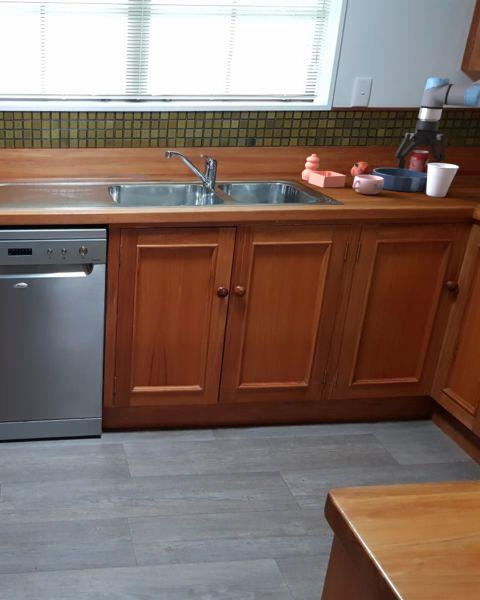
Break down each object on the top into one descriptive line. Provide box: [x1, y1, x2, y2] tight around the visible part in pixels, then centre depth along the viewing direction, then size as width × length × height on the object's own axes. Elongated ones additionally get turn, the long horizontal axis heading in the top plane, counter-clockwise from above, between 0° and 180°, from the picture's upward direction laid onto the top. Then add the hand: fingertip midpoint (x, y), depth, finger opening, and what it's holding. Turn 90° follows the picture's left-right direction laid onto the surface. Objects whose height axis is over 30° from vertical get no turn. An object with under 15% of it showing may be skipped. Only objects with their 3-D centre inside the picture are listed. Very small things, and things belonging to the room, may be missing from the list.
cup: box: [425, 162, 460, 198], centre depth 220 cm, size 10×10×11 cm
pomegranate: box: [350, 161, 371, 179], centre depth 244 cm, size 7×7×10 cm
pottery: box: [301, 153, 347, 189], centre depth 237 cm, size 18×10×10 cm, turn 16°
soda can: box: [406, 149, 430, 174], centre depth 242 cm, size 7×7×12 cm
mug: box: [352, 174, 384, 196], centre depth 221 cm, size 12×10×6 cm
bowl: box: [371, 167, 428, 193], centre depth 233 cm, size 19×19×6 cm
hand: (414, 176), depth 244 cm, fingers open, 11 cm apart
